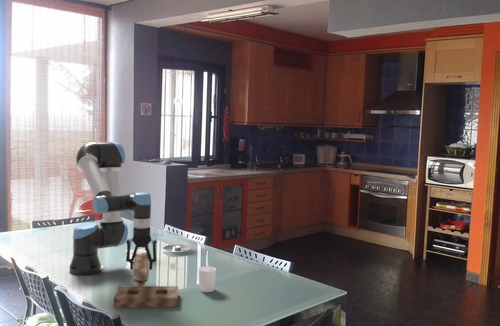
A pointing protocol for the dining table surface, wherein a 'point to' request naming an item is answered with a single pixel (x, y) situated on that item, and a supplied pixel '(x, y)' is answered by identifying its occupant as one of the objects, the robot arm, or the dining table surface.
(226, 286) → the dining table surface
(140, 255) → the beech peg
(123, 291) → the walnut board
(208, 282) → the white cup
